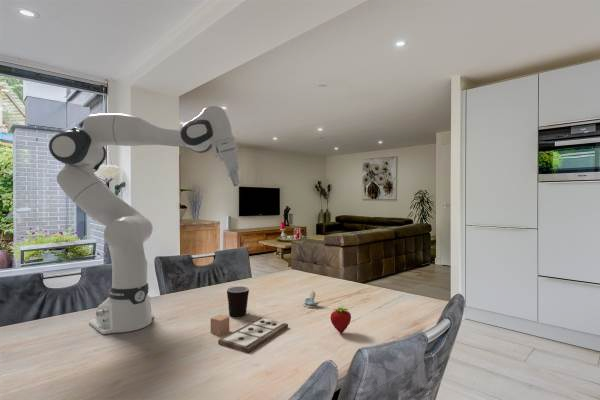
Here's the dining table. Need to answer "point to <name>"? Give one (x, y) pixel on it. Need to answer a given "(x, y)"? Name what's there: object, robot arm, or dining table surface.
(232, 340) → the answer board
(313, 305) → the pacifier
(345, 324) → the strawberry
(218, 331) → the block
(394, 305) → the dining table surface
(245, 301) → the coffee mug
